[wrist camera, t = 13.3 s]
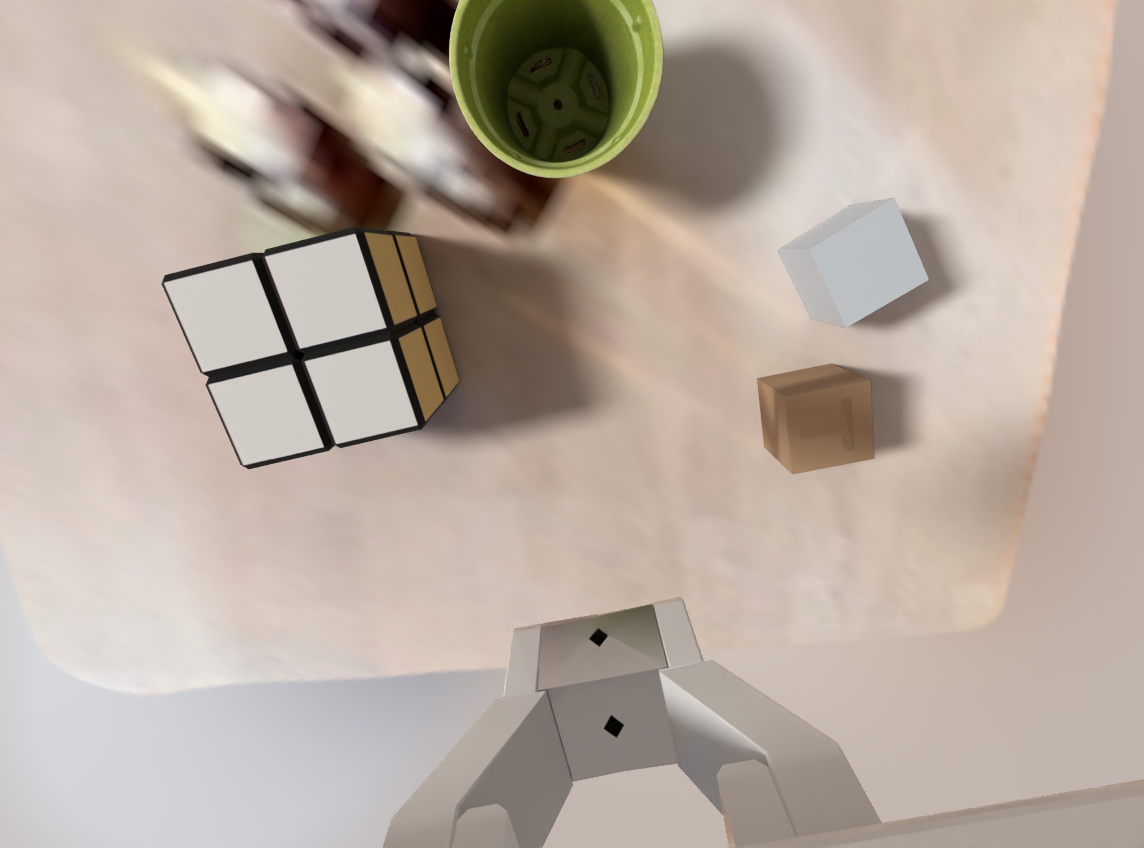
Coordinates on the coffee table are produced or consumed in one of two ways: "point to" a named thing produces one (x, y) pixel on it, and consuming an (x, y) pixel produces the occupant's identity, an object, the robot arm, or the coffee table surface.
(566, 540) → the coffee table surface
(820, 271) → the grey-blue block
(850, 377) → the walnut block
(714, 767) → the robot arm
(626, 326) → the coffee table surface
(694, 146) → the coffee table surface
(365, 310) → the puzzle cube
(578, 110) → the plant pot
